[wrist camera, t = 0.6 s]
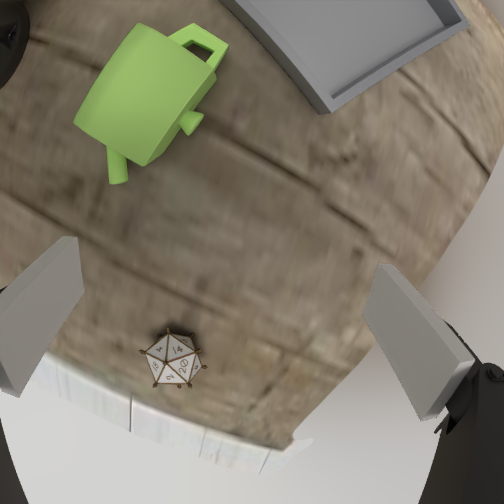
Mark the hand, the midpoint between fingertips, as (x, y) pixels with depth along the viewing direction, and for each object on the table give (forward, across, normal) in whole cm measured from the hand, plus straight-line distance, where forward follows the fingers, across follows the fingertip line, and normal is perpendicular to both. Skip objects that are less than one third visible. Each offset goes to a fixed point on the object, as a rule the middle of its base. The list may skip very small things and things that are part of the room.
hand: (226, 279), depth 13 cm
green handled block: (+24, -8, +7) cm, 27 cm away
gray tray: (+24, +11, +24) cm, 35 cm away
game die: (+24, -5, -24) cm, 34 cm away
